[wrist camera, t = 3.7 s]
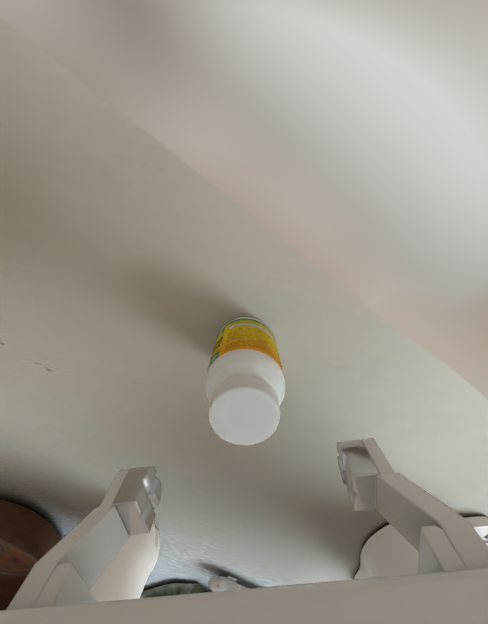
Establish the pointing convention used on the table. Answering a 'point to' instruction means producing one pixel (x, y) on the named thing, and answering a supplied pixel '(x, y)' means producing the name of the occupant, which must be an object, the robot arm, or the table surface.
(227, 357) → the supplement bottle
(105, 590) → the water bottle
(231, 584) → the speckled ballpoint pen
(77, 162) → the table surface
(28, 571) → the dish
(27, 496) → the table surface
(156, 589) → the rose bouquet
